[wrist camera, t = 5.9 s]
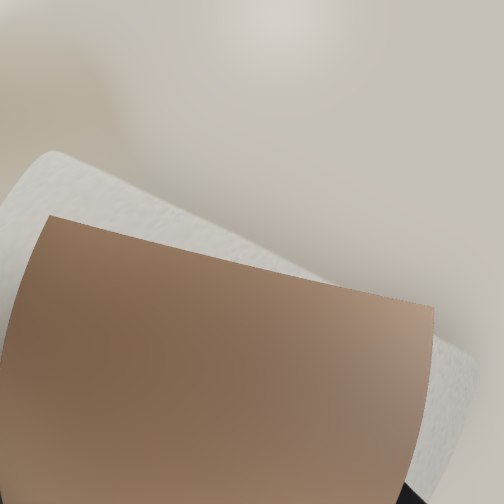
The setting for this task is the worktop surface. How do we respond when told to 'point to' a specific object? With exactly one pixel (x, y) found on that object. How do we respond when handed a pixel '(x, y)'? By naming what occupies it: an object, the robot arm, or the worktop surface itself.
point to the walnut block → (202, 380)
